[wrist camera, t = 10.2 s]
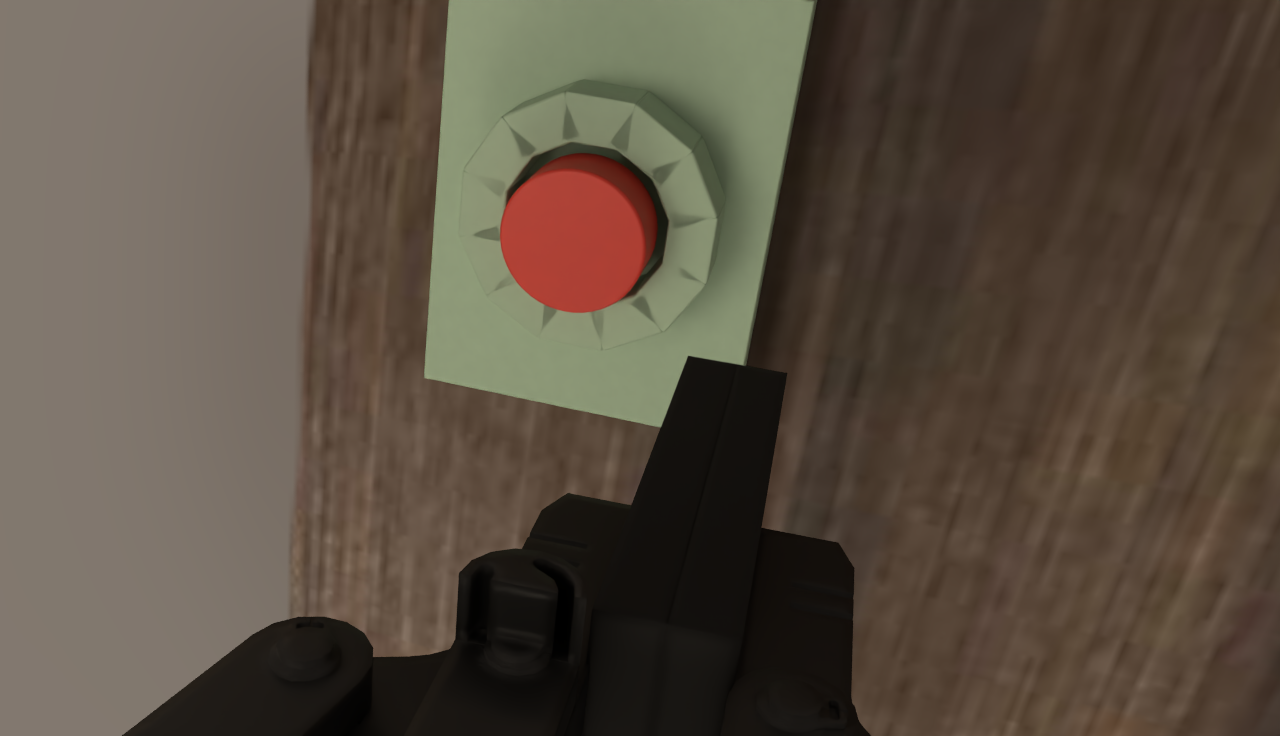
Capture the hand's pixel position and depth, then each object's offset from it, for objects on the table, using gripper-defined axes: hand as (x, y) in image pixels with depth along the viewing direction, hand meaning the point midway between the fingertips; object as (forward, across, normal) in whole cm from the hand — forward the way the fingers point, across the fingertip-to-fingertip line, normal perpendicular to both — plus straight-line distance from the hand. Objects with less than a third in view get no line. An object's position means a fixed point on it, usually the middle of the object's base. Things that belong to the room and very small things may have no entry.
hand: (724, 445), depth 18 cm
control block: (+15, -5, -1) cm, 16 cm away
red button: (+12, -5, -1) cm, 13 cm away
